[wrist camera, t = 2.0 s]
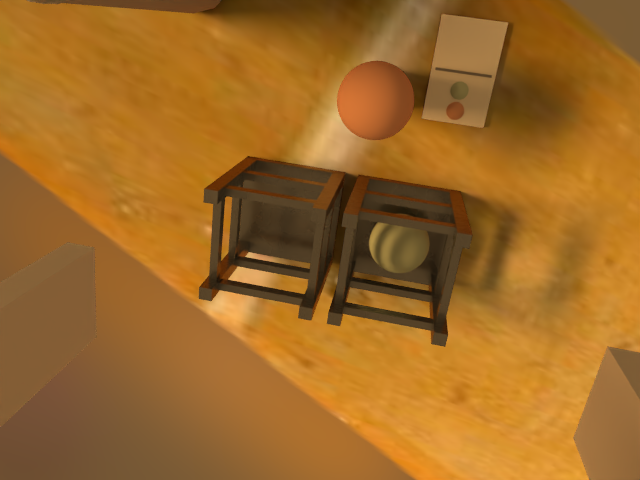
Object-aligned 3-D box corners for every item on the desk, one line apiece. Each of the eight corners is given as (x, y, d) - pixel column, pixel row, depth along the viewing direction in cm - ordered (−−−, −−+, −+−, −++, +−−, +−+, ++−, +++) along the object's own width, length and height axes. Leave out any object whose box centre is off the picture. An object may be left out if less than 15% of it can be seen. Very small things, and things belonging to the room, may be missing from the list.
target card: (441, 13, 43) (442, 13, 42) (507, 22, 42) (508, 22, 42) (421, 117, 46) (421, 118, 45) (482, 127, 45) (483, 128, 45)
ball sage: (376, 201, 48) (372, 219, 43) (433, 211, 48) (435, 230, 43) (367, 254, 50) (362, 276, 45) (422, 264, 49) (423, 288, 45)
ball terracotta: (347, 54, 38) (338, 57, 33) (420, 64, 37) (421, 69, 33) (337, 127, 40) (327, 139, 35) (407, 138, 39) (406, 152, 35)
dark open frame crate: (358, 174, 48) (343, 212, 38) (460, 191, 47) (472, 235, 37) (344, 265, 52) (326, 323, 41) (439, 283, 51) (445, 346, 40)
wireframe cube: (248, 156, 49) (204, 188, 39) (345, 172, 48) (326, 209, 38) (240, 246, 53) (198, 298, 42) (331, 263, 52) (311, 320, 42)
